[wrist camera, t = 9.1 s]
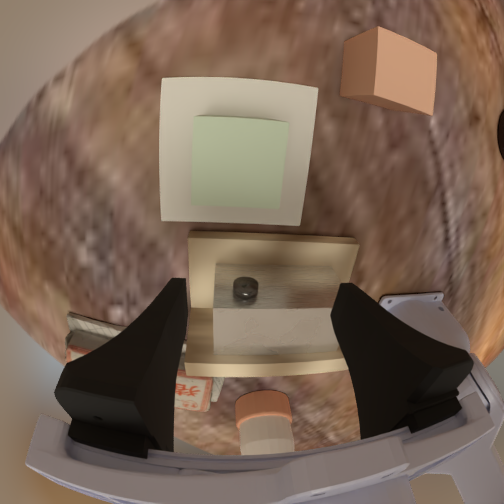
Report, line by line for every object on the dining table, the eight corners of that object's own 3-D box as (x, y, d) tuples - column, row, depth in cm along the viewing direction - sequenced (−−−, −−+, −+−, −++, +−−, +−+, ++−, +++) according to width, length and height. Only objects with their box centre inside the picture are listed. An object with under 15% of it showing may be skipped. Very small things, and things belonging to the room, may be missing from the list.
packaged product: (72, 392, 24) (51, 340, 19) (83, 362, 28) (70, 307, 23) (217, 423, 27) (236, 382, 23) (217, 391, 32) (234, 343, 27)
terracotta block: (395, 59, 14) (436, 53, 10) (391, 110, 16) (432, 116, 12) (344, 41, 14) (378, 26, 9) (339, 96, 16) (373, 94, 12)
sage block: (273, 119, 16) (289, 122, 12) (266, 183, 18) (279, 209, 14) (203, 114, 15) (193, 116, 11) (200, 180, 18) (191, 205, 13)
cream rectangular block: (333, 259, 21) (357, 299, 16) (319, 308, 23) (336, 350, 19) (215, 256, 20) (212, 300, 15) (215, 308, 22) (213, 354, 18)
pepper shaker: (223, 402, 32) (230, 535, 16) (269, 383, 31) (291, 531, 14) (255, 418, 35) (269, 532, 19) (297, 401, 34) (323, 524, 17)
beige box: (353, 237, 21) (394, 288, 15) (331, 314, 25) (354, 370, 19) (189, 230, 20) (174, 287, 14) (193, 314, 24) (186, 377, 18)
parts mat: (315, 88, 15) (318, 88, 15) (298, 222, 20) (299, 225, 20) (164, 79, 14) (162, 78, 14) (163, 217, 19) (161, 220, 19)
